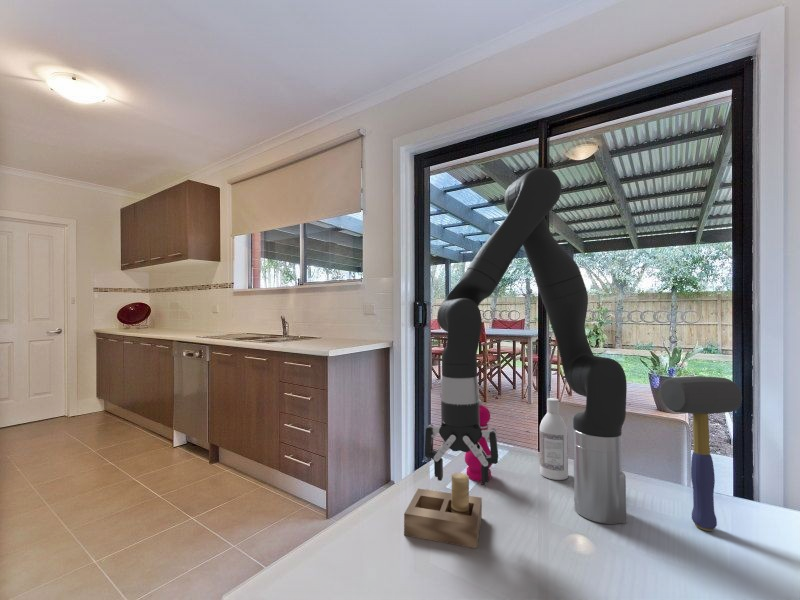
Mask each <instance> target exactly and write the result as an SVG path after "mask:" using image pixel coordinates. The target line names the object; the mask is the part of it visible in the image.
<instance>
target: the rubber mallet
mask: <svg viewBox="0 0 800 600" xmlns="http://www.w3.org/2000/svg"><path fill="white" fill-rule="evenodd" d="M660 397H661V399H662V403H664V405H665V406H666V407H667V409H669V410H670V411H672V412H674V413H679V414H681V413H682V414H692V429H693V430H692V433H693V434H692V435H693V436H692V439H693V440H692V441H693V451H692V456H691V464H690V465H691V466H690V478H691V479H690V480H691V485H692V495H693V497H692V498H693V499H692V501H693V507H692V511H691V520H692V522H693V524H694V526H695V527H697V528H698V529H700V530H702V531H708V532H712V531H714V529H716V527H717V525H718V522H717V521H718V520H717V516H716V514H715V513H716V512H715V501H714V492H715V484H716V481H715V480H716V479H715V469H714V462H713V457H712V454H711V448H710V447H711V446H710V426H709V425H710V423H709V415H712V414H713V415H714V414H724V413H732V412H735V411H737V410H739V409H740V407H741V406H742V403H743V395H742V390H741V389H740V387H739V385H738V384H736V382H734V381H733V380H731V379H729V378H726V377H718V376H706V375H705V376H702V375H693V376H677V377H670V378H667V379H665V380H664V381H663V382H662V385H661V387H660Z"/></svg>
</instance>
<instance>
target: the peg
mask: <svg viewBox="0 0 800 600" xmlns="http://www.w3.org/2000/svg"><path fill="white" fill-rule="evenodd" d="M450 489H451V492H450V493H451V513H456V514H462V515H469V496H470V478H469V476H468V475H467V473H463V472H455V473H453V474H451V488H450Z"/></svg>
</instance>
